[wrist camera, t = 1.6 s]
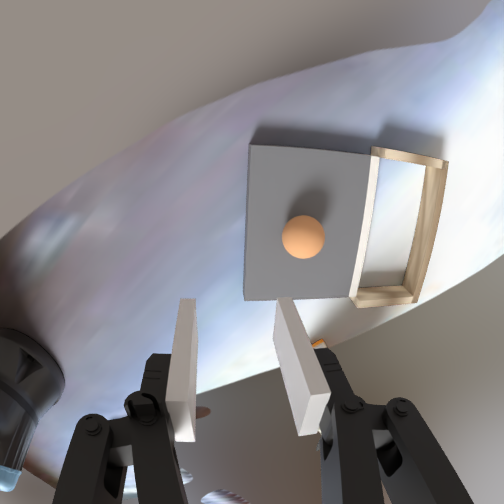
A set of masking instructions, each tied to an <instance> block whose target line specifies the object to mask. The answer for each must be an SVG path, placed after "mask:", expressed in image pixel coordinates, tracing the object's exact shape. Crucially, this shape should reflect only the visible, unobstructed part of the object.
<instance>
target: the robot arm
mask: <svg viewBox="0 0 504 504" xmlns="http://www.w3.org/2000/svg"><path fill="white" fill-rule="evenodd" d="M273 342H274V345H275V349H276V353H277V357H278V360H279V364H280V368H281V372H282V375H283V379H284V383H285V386H286V390H287V394H288V398H289V401H290V405H291V409H292V413H293V417H294V420H295V424H296V428H297V431H298V435H299V436H302V435H309V434H315V433H317V431H318V428H319V427H320V430H321V433H322V436H321V438H320V440H319V443H318V445H317V449H316V450H317V451H319V449H320V453H321V454H320V455H321V482H322V504H384V497H383V491H382V484H381V480H382V483H383V485H384V487H385V489H386V491H387V494H388V496H389V498H390V500H391V503H392V504H474V503H473V501H472V499H471V498H470V496H469V494H468V492H467V490H466V489H465V487H464V485H463V483H462V482H461V480H460V478H459V477H458V475H457V473H456V472H455V470H454V468H453V466H452V465H451V463H450V462H449V460H448V458H447V456H446V455H445V453H444V451H443V450H442V448H441V446H440V445H439V443H438V442H437V440H436V438H435V437H434V435H433V434H432V432H431V430H430V429H429V427H428V426H427V424H426V422H425V421H424V419H423V418H422V417H421V415H420V413H419V412H418V410H417V408H416V407H415V405H414V404H413V403H412V402H411V401H409V400H407V399H405V398H401V397H399V398H393V399H391V400H390V401H389V402H388V404H387V405H372V404H367V403H365V401H364V400H363V399H362V398H360V397H358V396H356V395H354V393H353V391H352V389H351V387H350V384H349V383H348V380H347V378H346V376H345V374H344V372H343V371H342V368H341V366H340V364H339V362H338V360H337V358H336V355H335V354H334V353H333V352H331V350H329V349H328V348H319V349H313V347H312V345H311V342H310V340H309V337H308V335H307V333H306V330H305V328H304V325H303V323H302V321H301V318H300V316H299V314H298V311H297V309H296V306H295V304H294V302H293V299H292V297H282V298H277V304H276V314H275V323H274V333H273ZM197 354H198V332H197V317H196V299H180V304H179V310H178V316H177V322H176V328H175V335H174V341H173V348H172V354H154V353H153V354H152V355H151V356H150V358H149V359H148V360H147V361H146V365H145V372H144V374H143V379H142V384H141V388H140V391H136V392H133V393H132V394H130V395H129V396H128V397H127V398H126V400H125V403H124V407H125V410H126V412H127V415H128V416H126V417H123V418H120V419H113V420H107V419H106V418H104V417H103V416H101V415H99V414H88V415H85V416H83V417H82V418H81V419H80V420H79V421H78V423H77V425H76V428H75V430H74V433H73V436H72V439H71V442H70V445H69V448H68V451H67V454H66V457H65V461H64V464H63V467H62V470H61V474H60V477H59V481H58V484H57V488H56V491H55V495H54V499H53V503H52V504H122V497H123V491H124V485H125V479H126V473H127V468H128V466H130V465H134V473H135V481H136V488H137V494H138V501H139V504H188V500H187V497H186V493H185V489H184V485H183V481H182V477H181V472H180V468H179V464H178V459H177V455H176V450H175V447H174V439H176V441H182V442H195V412H196V378H197ZM64 387H65V382H64V378H63V375H62V372H61V370H60V369H59V367H58V365H57V364H56V362H55V361H54V360H53V358H52V357H51V356H50V355H49V354H48V353H47V352H46V351H45V350H44V349H43V348H42V347H41V346H40V345H39V344H37V343H36V342H35V341H33V340H32V339H31V338H29V337H28V336H26V335H24V334H22V333H20V332H18V331H15V330H12V329H5V328H4V329H0V490H1V491H5V492H9V491H12V490H13V489H14V488H15V485H16V483H17V480H18V478H19V475H20V474H21V473H22V471H21V470H22V467H23V464H24V461H25V458H26V455H27V452H28V449H29V446H30V443H31V440H32V437H33V435H34V432H35V429H36V427H37V424H38V422H39V420H40V419H41V418H42V417H43V415H44V414H45V413H46V412H47V411H48V410H49V409H50V408H51V407H52V406H53V405H55V404H56V403H57V402H58V401H59V399H60V397H61V395H62V393H63V390H64Z"/></svg>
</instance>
